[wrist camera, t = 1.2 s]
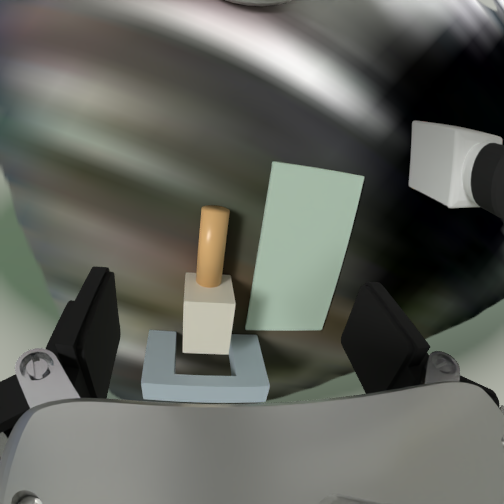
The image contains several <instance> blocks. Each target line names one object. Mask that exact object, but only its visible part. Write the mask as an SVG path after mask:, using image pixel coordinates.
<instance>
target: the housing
mask: <svg viewBox="0 0 504 504" xmlns="http://www.w3.org/2000/svg"><path fill="white" fill-rule="evenodd" d="M229 359H230V367H231V374H232V376H203V375H180V374H175V363H176V332H173V331H158V330H149V335H148V341H147V347H146V353H145V360H144V366H143V373H142V380H141V385H142V392H143V399H151V400H164V401H181V402H213V403H241V402H265V401H266V398H267V395H268V391H269V388H270V385H269V381H268V377H267V373H266V369H265V365H264V361H263V357H262V353H261V349H260V345H259V341H258V337H257V335H244V334H231V341H230V348H229Z"/></svg>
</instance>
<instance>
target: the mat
mask: <svg viewBox="0 0 504 504" xmlns="http://www.w3.org/2000/svg"><path fill="white" fill-rule="evenodd" d="M363 181H364V176H360V175H355V174H350V173H344V172H339V171H333V170H327V169H321V168H315V167H309V166H302V165H296V164H289V163H282V162H275V161H273V162H272V168H271V174H270V180H269V186H268V192H267V199H266V205H265V211H264V217H263V223H262V229H261V235H260V241H259V247H258V253H257V259H256V265H255V271H254V277H253V283H252V289H251V295H250V301H249V307H248V313H247V319H246V325H245V330H322V328H323V325H324V322H325V319H326V316H327V312H328V309H329V306H330V303H331V300H332V297H333V293H334V290H335V287H336V284H337V280H338V277H339V273H340V270H341V267H342V263H343V260H344V256H345V252H346V249H347V245H348V241H349V238H350V234H351V230H352V226H353V222H354V218H355V215H356V211H357V206H358V202H359V198H360V194H361V190H362V185H363Z"/></svg>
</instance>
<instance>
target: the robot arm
mask: <svg viewBox="0 0 504 504" xmlns="http://www.w3.org/2000/svg"><path fill="white" fill-rule="evenodd" d="M226 1H229V2H232V3H236V4H242V5H247V6H271V5H279V4H283V3H287V2H290V1H292V0H226ZM119 341H120V324H119V316H118V308H117V299H116V288H115V277H114V273H113V272H109V268H106V267H92V269H91V271H90V273H89V275H88V276H87V278H86V280H85V282H84V284H83V286H82V288H81V290H80V292H79V294H78V296H77V298H76V300H75V301H72V300H71V301H69V302H68V303H67V305H66V307H65V309H64V311H63V313H62V315H61V317H60V319H59V321H58V323H57V325H56V327H55V330H54V331H53V334H52V336H51V338H50V340H49V342H48V344H47V347H46V349H42V348H36V349H32V350H29V351H27V352H25V353H23V354H22V355H21V356H20V357H19V358H18V360H17V362H16V365H15V371H16V375H13V376H11V377H9V378H8V379H6V380H3V381H1V382H0V504H33V503H34V504H504V406H501V407H500V408H499V400H498V398H497V396H496V394H495V393H494V391H493V390H491V389H488V388H486V387H484V386H482V385H480V384H478V383H475V382H473V381H471V380H469V379H467V378H465V377H462V376H460V368H459V365H458V363H457V361H456V360H455V359H454V358H453V357H452V356H450V355H449V354H447V353H444V352H440V351H435V352H432V353H431V354H430V355H428V353H427V351H428V350H429V348H430V346H429V344H428V343H427V342H426V340H425V339H424V338H423V336H422V335H421V334H420V332H419V331H418V330H417V328H416V327H415V326H414V324H413V323H412V322H411V321H410V319H409V318H408V317H407V315H406V314H405V313H404V312H403V310H402V309H401V308H400V307H399V305H398V304H397V303H396V302H395V300H394V299H393V298H392V297H391V295H390V294H389V293H388V292H387V290H386V289H385V288H384V287H383V286H382V284H381V283H379V282H366V283H365V284H364V285H363V286H361V287H360V290H359V292H358V295H357V298H356V300H355V303H354V306H353V308H352V311H351V314H350V316H349V319H348V321H347V324H346V326H345V329H344V331H343V334H342V337H341V344H342V346H343V348H344V350H345V352H346V354H347V356H348V358H349V360H350V362H351V364H352V366H353V368H354V370H355V372H356V374H357V376H358V378H359V380H360V382H361V384H362V386H363V388H364V390H365V393H366V394H362V395H354V396H346V397H338V398H329V399H320V400H309V401H296V402H281V403H260V404H185V403H163V402H146V401H133V400H119V399H106V398H107V393H108V388H109V384H110V379H111V375H112V370H113V366H114V361H115V357H116V353H117V349H118V345H119Z"/></svg>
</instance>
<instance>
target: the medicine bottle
mask: <svg viewBox="0 0 504 504" xmlns="http://www.w3.org/2000/svg"><path fill="white" fill-rule="evenodd" d="M409 187H410V188H412V189H414V190H416V191H418V192H420V193H422V194H424V195H426V196H428V197H430V198H431V199H433V200H435V201H437V202H439V203H441V204H443V205H444V206H446V207H448V208H466V207H481V208H483V209H485V210H487V211H489V212H491V213H492V214H494V215H496V216H498V217H500V218H502V219H504V145H502V138H501V137H499V136H496V135H492V134H488V133H484V132H480V131H476V130H472V129H468V128H463V127H458V126H452V125H446V124H439V123H432V122H424V121H413V122H412V138H411V157H410V172H409Z"/></svg>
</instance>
